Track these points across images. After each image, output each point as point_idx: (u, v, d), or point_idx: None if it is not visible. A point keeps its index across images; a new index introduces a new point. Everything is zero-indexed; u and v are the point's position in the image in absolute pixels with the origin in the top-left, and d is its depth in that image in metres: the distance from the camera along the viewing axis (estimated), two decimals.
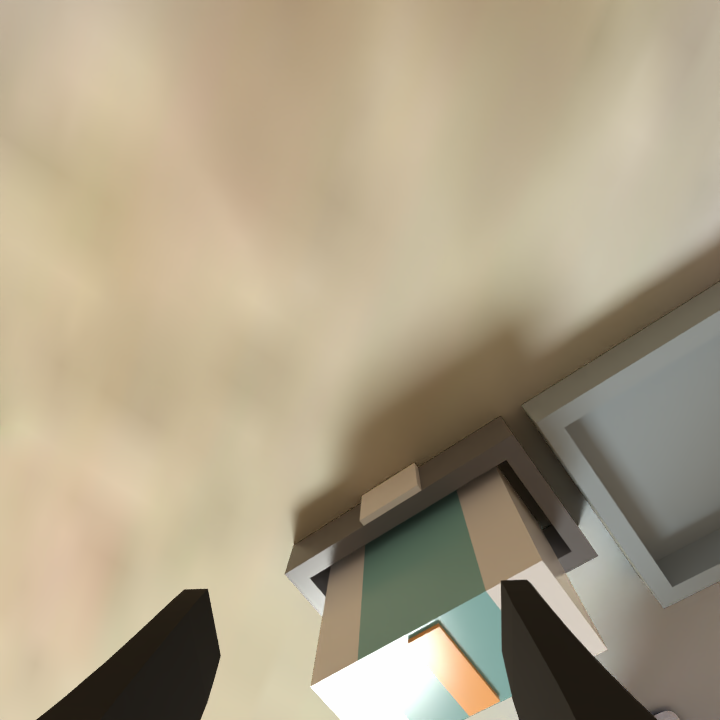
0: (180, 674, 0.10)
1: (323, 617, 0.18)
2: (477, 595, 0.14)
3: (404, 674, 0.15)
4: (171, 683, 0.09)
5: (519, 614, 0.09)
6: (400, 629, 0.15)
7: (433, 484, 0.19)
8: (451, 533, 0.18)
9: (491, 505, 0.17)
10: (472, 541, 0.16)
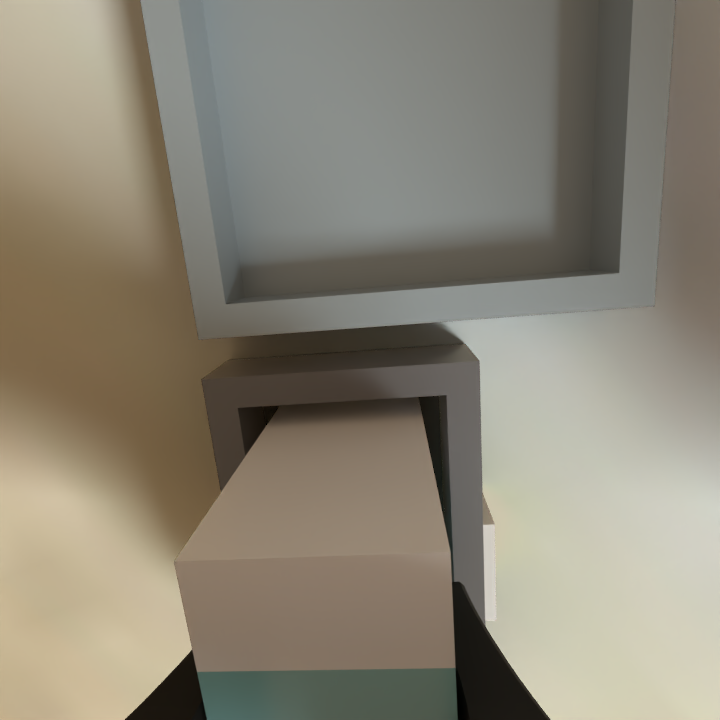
0: None
1: None
2: (201, 685, 0.07)
3: None
4: None
5: None
6: None
7: None
8: None
9: None
10: None
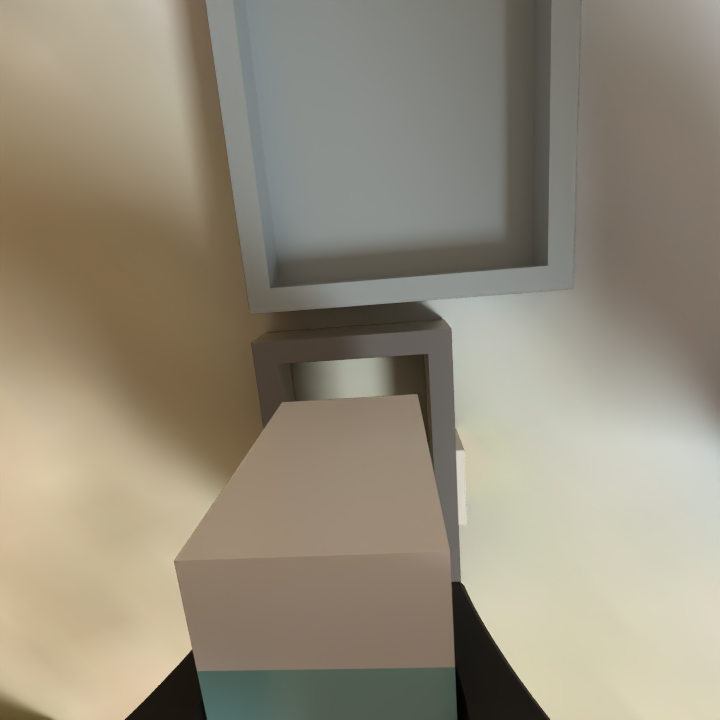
0: None
1: None
2: (200, 685, 0.07)
3: None
4: None
5: None
6: None
7: None
8: None
9: None
10: None
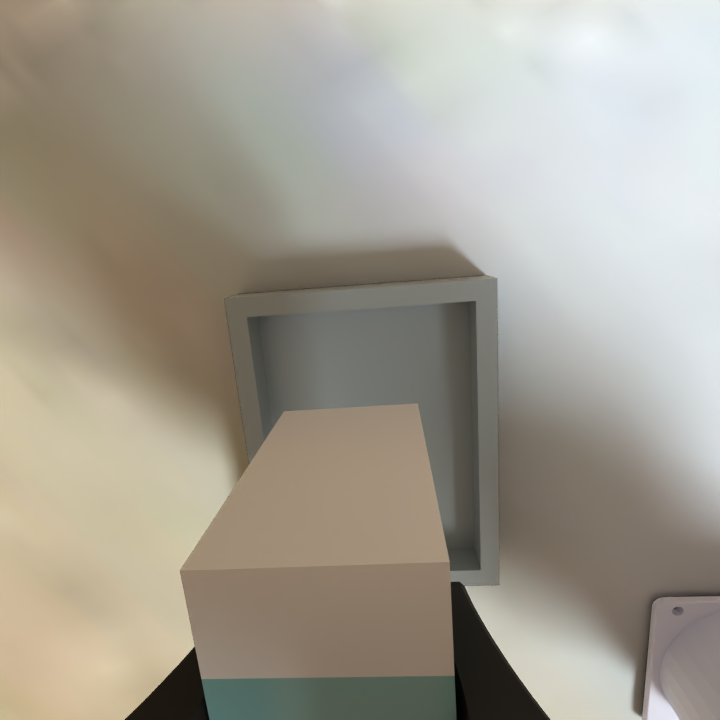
0: None
1: None
2: (205, 693, 0.07)
3: None
4: None
5: None
6: None
7: None
8: None
9: None
10: None
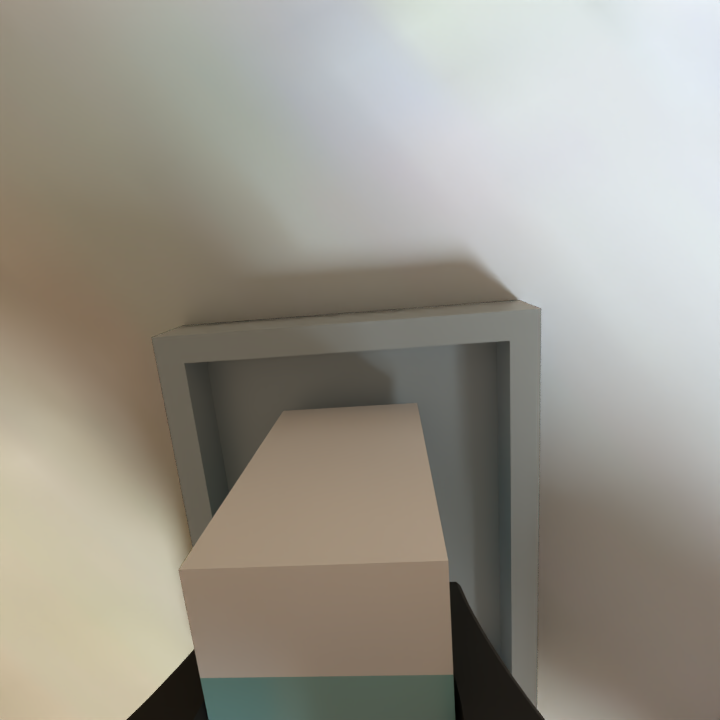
0: None
1: None
2: (203, 692, 0.07)
3: None
4: None
5: None
6: None
7: None
8: None
9: None
10: None
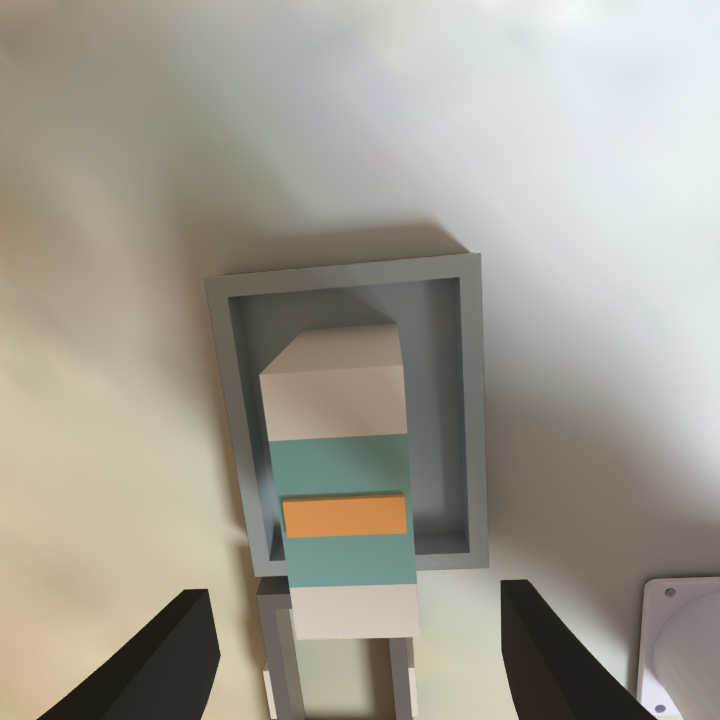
0: (180, 674, 0.10)
1: None
2: (270, 450, 0.13)
3: (327, 559, 0.14)
4: (171, 683, 0.09)
5: (519, 614, 0.09)
6: (284, 533, 0.14)
7: (268, 662, 0.22)
8: None
9: None
10: None
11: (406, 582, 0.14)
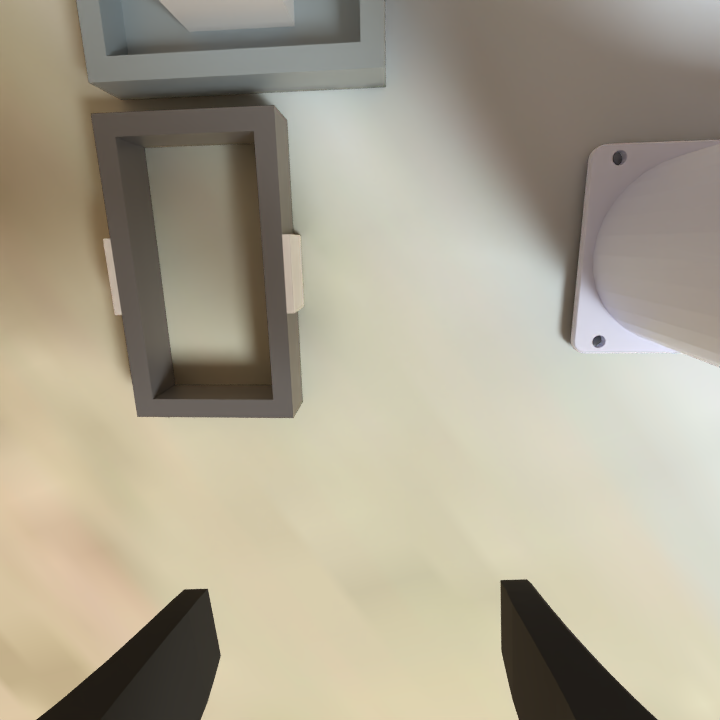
0: (180, 674, 0.10)
1: None
2: None
3: None
4: (171, 683, 0.09)
5: (519, 614, 0.09)
6: None
7: (108, 223, 0.17)
8: None
9: None
10: None
11: None
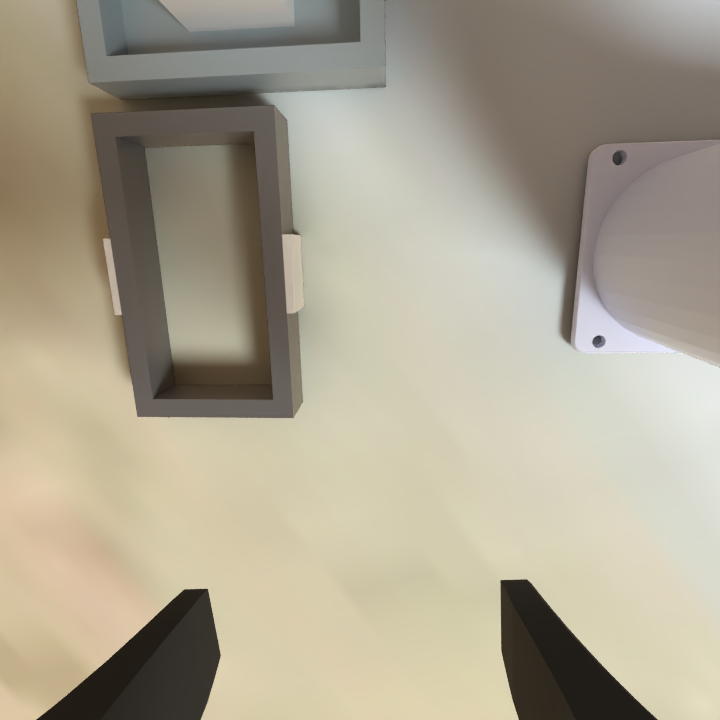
0: (180, 674, 0.10)
1: None
2: None
3: None
4: (171, 683, 0.09)
5: (519, 614, 0.09)
6: None
7: (108, 223, 0.17)
8: None
9: None
10: None
11: None
